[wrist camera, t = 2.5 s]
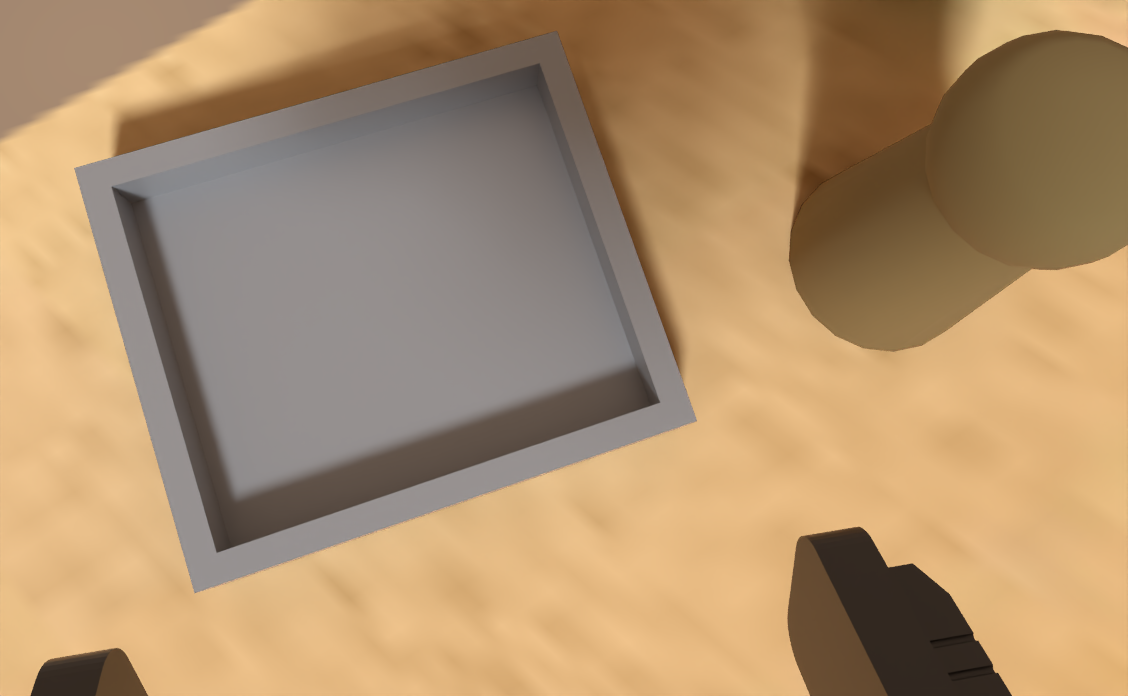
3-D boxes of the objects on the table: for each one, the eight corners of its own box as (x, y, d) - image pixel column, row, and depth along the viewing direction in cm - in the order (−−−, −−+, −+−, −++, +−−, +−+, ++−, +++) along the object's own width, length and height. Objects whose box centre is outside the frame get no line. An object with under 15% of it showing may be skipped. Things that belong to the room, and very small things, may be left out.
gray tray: (221, 584, 27) (194, 593, 25) (109, 196, 29) (74, 168, 26) (679, 427, 29) (697, 421, 27) (551, 68, 31) (557, 31, 28)
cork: (759, 201, 30) (907, 35, 20) (927, 140, 31) (1160, -53, 20) (834, 379, 30) (1032, 309, 19) (1005, 312, 30) (1290, 207, 20)
